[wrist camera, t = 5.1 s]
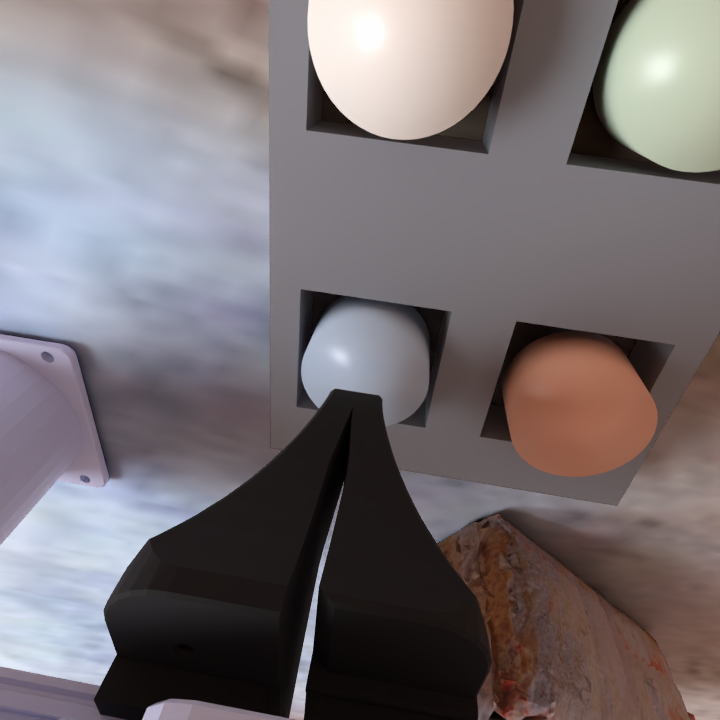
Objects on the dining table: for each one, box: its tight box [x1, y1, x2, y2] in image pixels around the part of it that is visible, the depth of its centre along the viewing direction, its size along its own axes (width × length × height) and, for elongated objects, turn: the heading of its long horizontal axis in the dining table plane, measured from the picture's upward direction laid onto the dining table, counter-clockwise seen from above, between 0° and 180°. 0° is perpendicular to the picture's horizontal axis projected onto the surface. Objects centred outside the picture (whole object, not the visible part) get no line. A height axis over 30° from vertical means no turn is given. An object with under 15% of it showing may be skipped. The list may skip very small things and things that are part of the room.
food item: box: [437, 514, 695, 720], centre depth 21 cm, size 14×8×10 cm, turn 48°
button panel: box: [269, 0, 720, 506], centre depth 14 cm, size 13×18×2 cm
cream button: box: [307, 0, 514, 140], centre depth 10 cm, size 4×4×2 cm
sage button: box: [593, 0, 720, 173], centre depth 11 cm, size 4×4×2 cm
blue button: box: [301, 296, 430, 426], centre depth 16 cm, size 4×4×2 cm
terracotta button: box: [502, 331, 658, 477], centre depth 15 cm, size 4×4×2 cm
